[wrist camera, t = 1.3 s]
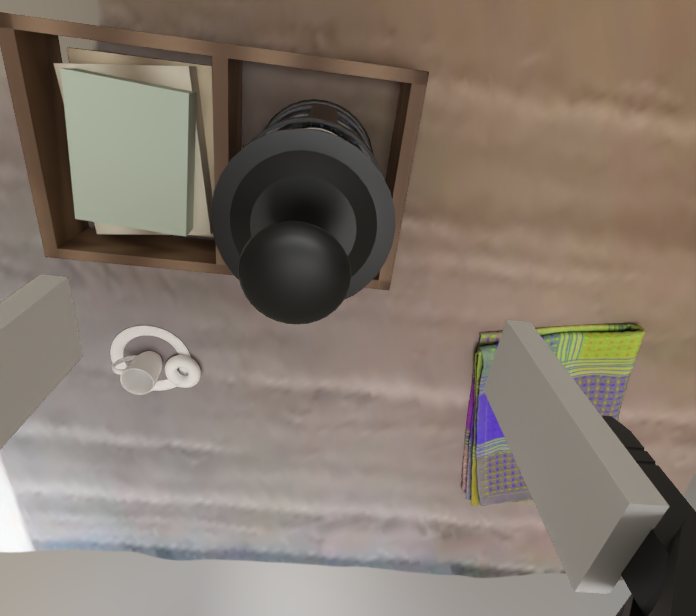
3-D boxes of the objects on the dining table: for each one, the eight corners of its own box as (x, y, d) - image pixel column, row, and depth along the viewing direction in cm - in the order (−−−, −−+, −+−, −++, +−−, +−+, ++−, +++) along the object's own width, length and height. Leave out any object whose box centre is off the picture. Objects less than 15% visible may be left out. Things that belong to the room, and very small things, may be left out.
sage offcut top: (88, 211, 35) (75, 218, 33) (76, 68, 30) (60, 68, 28) (193, 228, 36) (185, 236, 34) (196, 92, 31) (188, 93, 29)
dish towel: (643, 317, 45) (660, 331, 43) (595, 482, 57) (607, 501, 54) (471, 329, 45) (479, 344, 43) (458, 492, 57) (464, 511, 54)
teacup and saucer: (214, 361, 46) (205, 386, 42) (168, 403, 48) (155, 430, 45) (143, 308, 43) (125, 330, 39) (96, 356, 45) (76, 380, 42)
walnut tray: (78, 235, 39) (45, 256, 34) (40, 19, 31) (-8, 11, 27) (383, 266, 41) (389, 290, 37) (416, 71, 34) (429, 71, 29)
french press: (266, 76, 33) (164, 90, 13) (387, 105, 35) (463, 157, 14) (250, 225, 39) (159, 396, 19) (355, 245, 40) (377, 427, 20)
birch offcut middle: (108, 226, 37) (97, 234, 36) (68, 63, 32) (53, 63, 30) (216, 227, 38) (210, 235, 36) (196, 66, 32) (188, 66, 30)
